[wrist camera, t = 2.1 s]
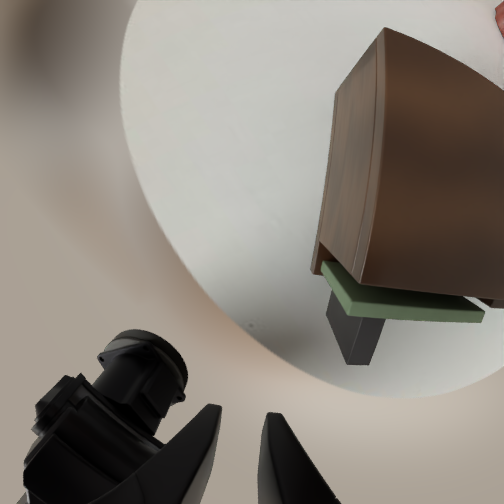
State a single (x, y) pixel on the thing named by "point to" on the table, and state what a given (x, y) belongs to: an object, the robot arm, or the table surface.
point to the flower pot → (500, 17)
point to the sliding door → (383, 311)
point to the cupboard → (416, 174)
